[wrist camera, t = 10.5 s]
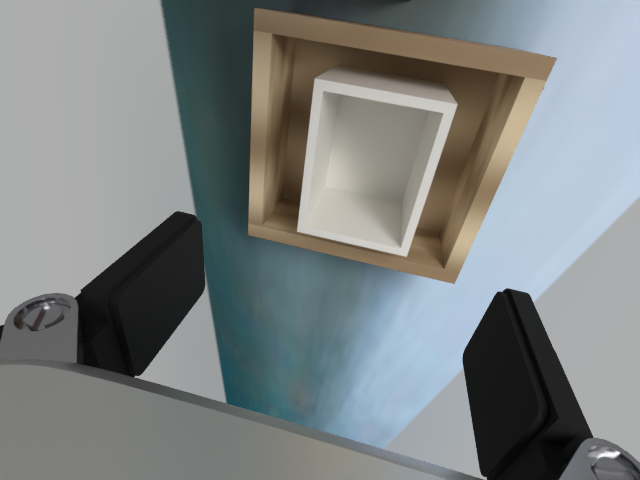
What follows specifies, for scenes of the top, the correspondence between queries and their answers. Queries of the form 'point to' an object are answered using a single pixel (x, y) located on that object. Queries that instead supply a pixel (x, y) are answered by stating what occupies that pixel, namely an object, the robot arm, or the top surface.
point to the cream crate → (372, 156)
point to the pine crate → (404, 60)
